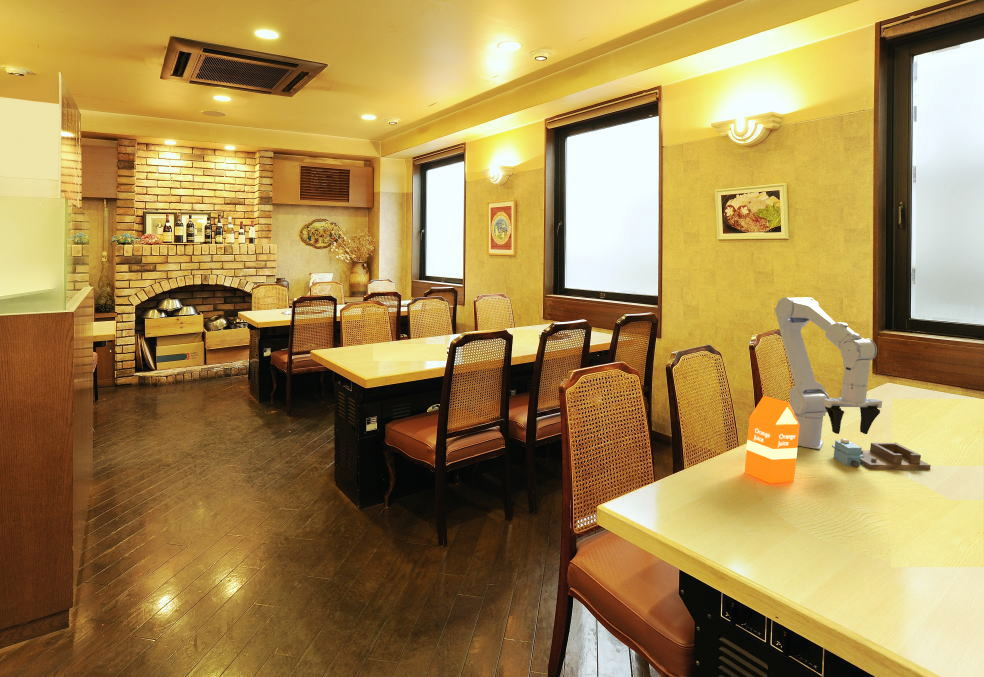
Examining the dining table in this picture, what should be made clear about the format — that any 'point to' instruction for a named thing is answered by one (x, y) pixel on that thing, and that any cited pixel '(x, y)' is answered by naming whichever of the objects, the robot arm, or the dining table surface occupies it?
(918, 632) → the dining table surface
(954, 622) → the dining table surface
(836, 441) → the block
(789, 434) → the orange juice
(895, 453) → the board
